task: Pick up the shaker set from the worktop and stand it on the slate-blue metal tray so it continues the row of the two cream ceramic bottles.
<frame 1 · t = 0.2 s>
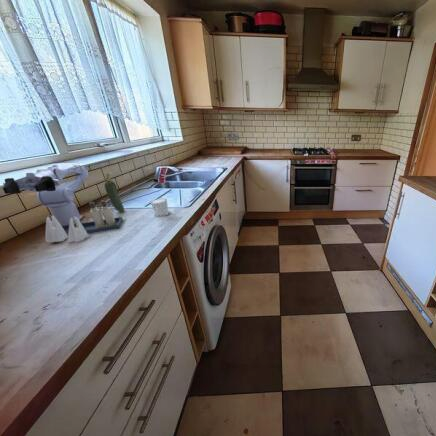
hand: (21, 189, 77), 21 cm above the table, tool horizontal, fingers open, 7 cm apart
vegetable: (120, 213, 112), on the table
bottle 1: (101, 227, 97), resting on tray
bottle 2: (112, 225, 99), resting on tray
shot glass: (162, 214, 111), on the table
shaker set: (69, 241, 88), on the table
tray: (88, 230, 96), on the table
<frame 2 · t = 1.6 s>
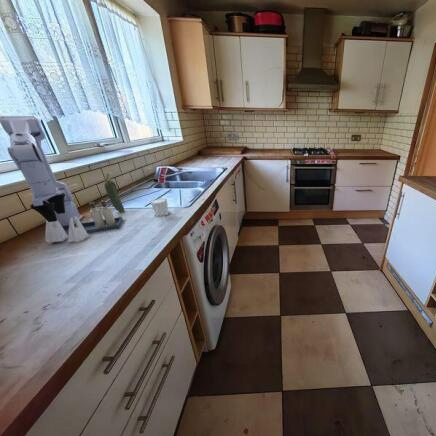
hand: (57, 217, 83), 10 cm above the table, tool pointing down, fingers open, 7 cm apart
nothing on the table moved.
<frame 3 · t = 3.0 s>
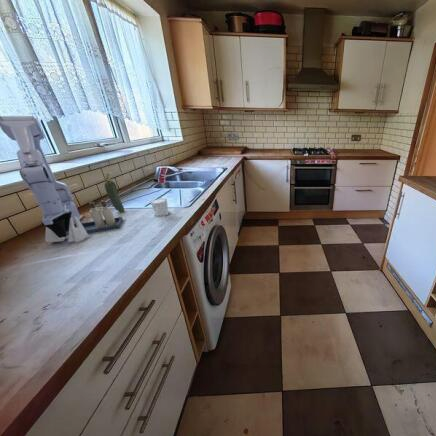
hand: (65, 233, 86), 3 cm above the table, tool pointing down, fingers closed on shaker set, 4 cm apart
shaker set: (69, 241, 88), on the table, touching gripper
everything else where it was.
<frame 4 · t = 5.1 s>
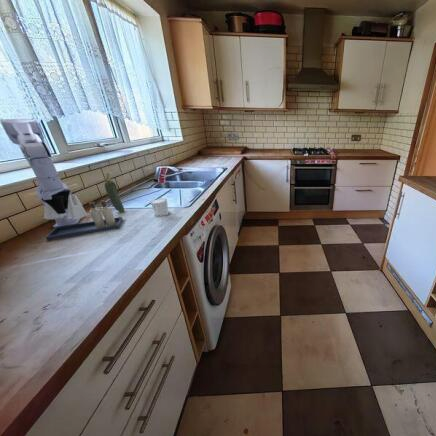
hand: (64, 211, 89), 10 cm above the table, tool pointing down, fingers closed on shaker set, 4 cm apart
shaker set: (68, 219, 90), point 7 cm above the table, touching gripper
everything else where it was.
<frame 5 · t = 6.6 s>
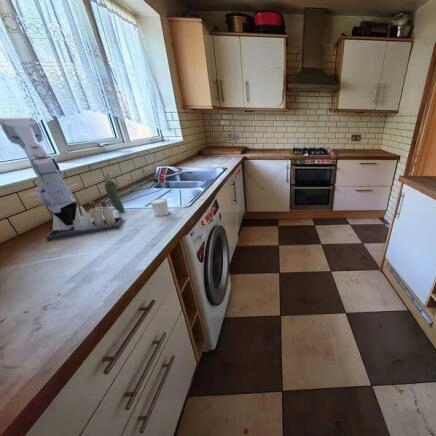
hand: (71, 222, 92), 5 cm above the table, tool pointing down, fingers closed on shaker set, 4 cm apart
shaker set: (75, 230, 94), point 1 cm above the table, touching gripper
everything else where it was.
when the fingers open (4 cm above the table, at t = 7.2 s): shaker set stays where it is, resting on tray.
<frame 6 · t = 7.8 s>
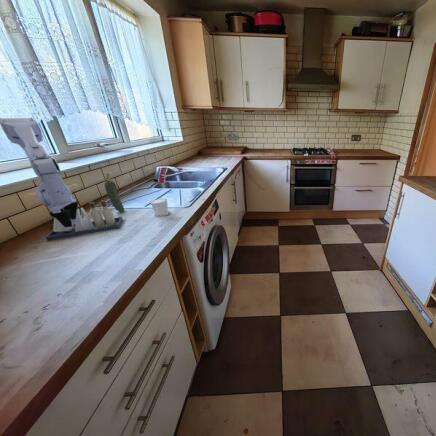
hand: (72, 222, 92), 4 cm above the table, tool pointing down, fingers open, 7 cm apart
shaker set: (76, 231, 94), resting on tray
everything else where it was.
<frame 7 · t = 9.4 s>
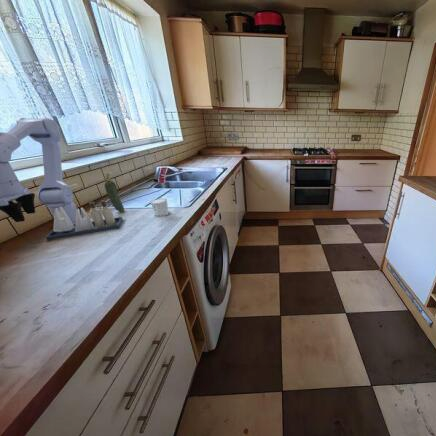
hand: (26, 217, 83), 10 cm above the table, tool pointing down, fingers open, 7 cm apart
nothing on the table moved.
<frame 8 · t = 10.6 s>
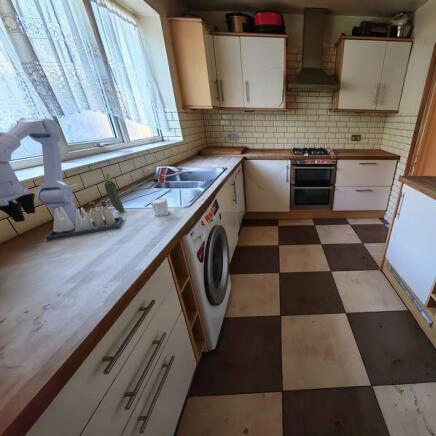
hand: (26, 217, 83), 10 cm above the table, tool pointing down, fingers open, 7 cm apart
nothing on the table moved.
at the end: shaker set 0.1 cm from the target spot, resting on tray; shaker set tilted 0°; bottle 1 moved 0.0 cm from its start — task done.
